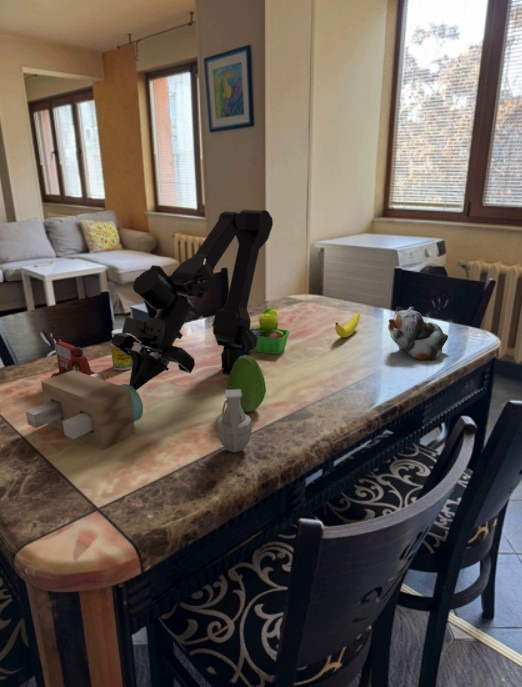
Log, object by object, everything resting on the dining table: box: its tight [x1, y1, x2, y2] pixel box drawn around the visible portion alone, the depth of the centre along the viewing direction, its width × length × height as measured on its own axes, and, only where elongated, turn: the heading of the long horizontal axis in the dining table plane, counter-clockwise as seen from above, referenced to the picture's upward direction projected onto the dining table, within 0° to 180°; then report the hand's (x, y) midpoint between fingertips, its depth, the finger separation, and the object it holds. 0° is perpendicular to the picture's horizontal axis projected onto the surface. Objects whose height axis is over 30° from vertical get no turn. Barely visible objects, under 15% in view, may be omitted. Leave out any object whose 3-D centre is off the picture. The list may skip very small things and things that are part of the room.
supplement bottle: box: [109, 328, 132, 371], centre depth 124 cm, size 5×5×10 cm
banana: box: [334, 312, 361, 339], centre depth 147 cm, size 3×19×6 cm, turn 150°
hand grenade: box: [216, 389, 253, 453], centre depth 84 cm, size 6×6×11 cm
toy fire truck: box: [50, 341, 97, 378], centre depth 111 cm, size 7×12×10 cm, turn 49°
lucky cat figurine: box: [387, 306, 449, 362], centre depth 131 cm, size 15×12×14 cm
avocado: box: [225, 355, 267, 413], centre depth 99 cm, size 8×8×12 cm
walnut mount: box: [25, 370, 136, 451], centre depth 92 cm, size 15×17×9 cm
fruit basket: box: [250, 306, 290, 355], centre depth 135 cm, size 11×9×11 cm
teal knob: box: [63, 383, 144, 440], centre depth 90 cm, size 13×8×8 cm, turn 144°
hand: (131, 390), depth 95 cm, fingers closed
